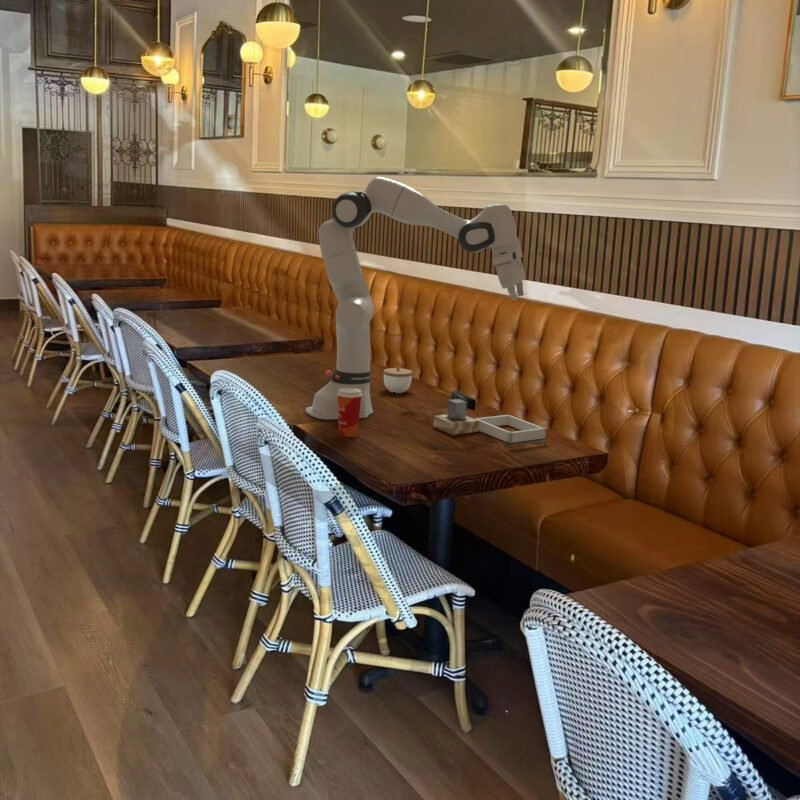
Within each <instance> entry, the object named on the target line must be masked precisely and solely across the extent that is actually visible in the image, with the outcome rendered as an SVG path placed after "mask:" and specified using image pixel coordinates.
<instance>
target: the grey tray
mask: <svg viewBox="0 0 800 800" xmlns="http://www.w3.org/2000/svg"><path fill="white" fill-rule="evenodd" d="M474 419H476V420H479V427H478V432H481V433H484V434H487V435H489V436H491V437H494V438H496V439H499V440H501V441H503V442H505V443H508V444H504V445H505V446H504V447H506V446H508V447H511V448H513V447H512V446H518V447H520V446H519V445H525V446H528V445H527V444H532V445H537V444H536V443H539V444H545V443H546V432H547V428H545V427H543V426H541V425H537V424H535V423H531V422H529V421H526V420H524V419H522V418H519V417H516V416H513V415H510V414H502V415H494V416H493V415H492V416H486V417H485V416H484V417H477V418H474ZM501 426H510V427H512V428H515V429H517V431H516V430H515V431H509V430H507V429H504V428H502V427H501ZM544 442H545V443H544ZM508 447H507V448H508Z"/></svg>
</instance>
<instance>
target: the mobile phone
mask: <svg viewBox="0 0 800 800" xmlns="http://www.w3.org/2000/svg"><path fill="white" fill-rule="evenodd" d="M454 399H460V400H463V401H466V402H467V403H466V410H471V411H474V412H475V410H476V403H477V401H476V399H475V398H473V397H471V396H469V395H468V394H465V393H463V391H460V390H459V391H458V390H454V391H451V394H450V400H454Z"/></svg>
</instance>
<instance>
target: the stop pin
mask: <svg viewBox="0 0 800 800" xmlns="http://www.w3.org/2000/svg"><path fill="white" fill-rule="evenodd" d="M447 403H448V404H447V414H448V415H447V418H448V419H451V420H453V421H459V420H465V417H466V416H467V409H466V403H467V402H466V401H463V400H460V399H454V400H451V399H448V400H447Z"/></svg>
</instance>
